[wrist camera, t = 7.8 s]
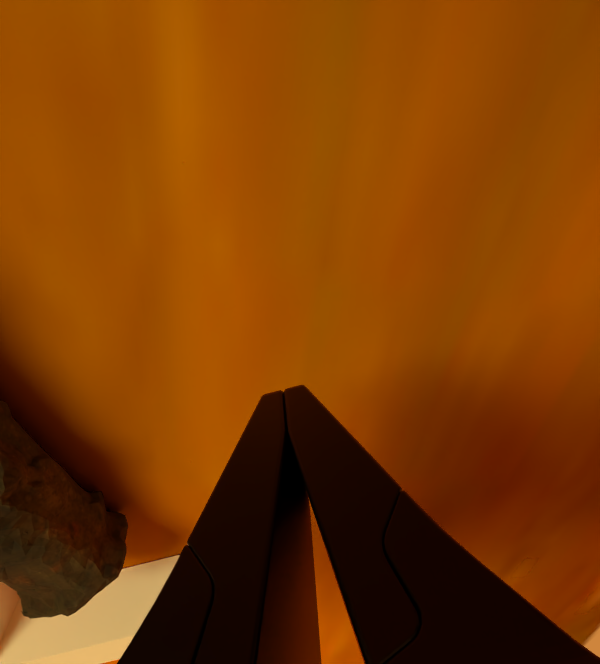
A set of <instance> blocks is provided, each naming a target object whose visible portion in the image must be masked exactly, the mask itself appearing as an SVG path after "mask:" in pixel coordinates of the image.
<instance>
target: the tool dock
mask: <svg viewBox="0 0 600 664" xmlns="http://www.w3.org/2000/svg"><path fill="white" fill-rule="evenodd" d="M179 556H180V555H176V556H172V557H168V558H164V559H160V560H156V561H152V562H148V563H144V564H140V565H136V566H132V567H128V568H125V569H122V570H121V572H120V574H119V577H118V578H117V579H115V580H114V581H113V582H111V583H110V584H109V585H108V586H106V587H105V588H104V589H103V590H102V591H100V592H99V593H97V594H96V595H95V596H94V597H93V598H92V599H91V600H90V601H89V602H88V603H87V604H86V605H85V606H83V607H82V608H81V609H79V610H78V611H77V612H76V613H74V614H72V615H70V616H65V615H62V614H61V615H57V616H54V617H41V618H33V619H30V618H29V617H25V616H23V614H22V612H23V611H22V605H21V599H20V597H19V595H18V594H16V593H17V591H15V590H13V589H12V588H10V587H9V586H7V585H6V584H4V583H3V582H0V664H101V663H105V662H109V661H113V660H117V659H120V658H121V656H122V655H123V653H124V652H125V650H126V649H127V647H128V645H129V644H130V642H131V641H132V639H133V637H134V636H135V634H136V632H137V631H138V629H139V627H140V626H141V624H142V622H143V621H144V619H145V617H146V616H147V614H148V612H149V611H150V609H151V607H152V606H153V604H154V602H155V601H156V599H157V597H158V595H159V593H160V591H161V590H162V588H163V586H164V584H165V582H166V580H167V579H168V577H169V575H170V573H171V571H172V569H173V568H174V566H175V564H176V562H177V560H178V558H179ZM21 611H22V612H21Z"/></svg>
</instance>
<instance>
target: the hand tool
mask: <svg viewBox="0 0 600 664" xmlns="http://www.w3.org/2000/svg"><path fill="white" fill-rule="evenodd" d="M127 529H128V524H127V520H126V517H125V515H124V514H121V513H118V512H107V511H106V509H105V503H104V498H103V495H102V492H100V491H94V492H92V493H90V492H86V491H85V490H83V489H82V488H81V487H80V486H79V485H78V484H77V483H76V482H75V481H74V480H73V479H72V478H71V477H70V476H69V475H68V473H67V472H66V471H65V470H64V469H63V468H62V467H61V466H60V465H59V464H58V463H57V462H56V461H55V460H53V459H52V458H51V457H50V456H49V455H48V454H47V453H46V452H45V451H44V450H43V449H42V448H41V447H40V446H39V445H38V444H37V443H36V442H35V441H34V440H33V439H32V438H31V437H30V436H29V435H28V433H27V432H26V431H25V430H24V429H23V428H22V427H21V426H20V425H19V424H18V423H17V422H16V421H15V420H14V419H13V418H12V417H11V411H10V409H9V407H8V404H7V403H6V402H3V401H1V400H0V582H3V583H4V584H6V585H7V586H9V587H10V588H12V589H13V590H15V591H17V593H16V594H18V595H19V597H20V599H21V605H22V611H23V612H22V611H21V612H22V614H23V616H25V617H29V618H30V619H33V618H41V617H54V616H57V615H61V614H62V615H65V616H70V615H72V614H74V613H76V612H77V611H78V610H79V609H81V608H82V607H83V606H85V605H86V604H87V603H88V602H89V601H90V600H91V599H92V598H93V597H94V596H95V595H96V594H97V593H99V592H100V591H102V590H103V589H104V588H105V587H106V586H108V585H109V584H110V583H111V582H113V581H114V580H115V579H117V578H118V577H119V574H120V572H121V570H122V568H123V564H124V560H125V556H126V544H125V539H126V534H127Z"/></svg>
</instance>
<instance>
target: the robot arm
mask: <svg viewBox="0 0 600 664" xmlns="http://www.w3.org/2000/svg"><path fill="white" fill-rule="evenodd" d="M308 497H309V498H308ZM309 500H310V503H311V506H312V509H313V512H314V515H315V518H316V521H317V524H318V527H319V530H320V533H321V536H322V539H323V542H324V545H325V548H326V551H327V554H328V557H329V560H330V563H331V566H332V569H333V572H334V575H335V578H336V581H337V584H338V587H339V590H340V593H341V596H342V598H343V601H344V604H345V607H346V610H347V613H348V616H349V619H350V622H351V625H352V628H353V631H354V634H355V637H356V640H357V643H358V646H359V649H360V652H361V655H362V658H363V661H364V664H600V658H599V657H598V656H596V655H595V654H593V653H592V652H591V651H589V650H588V649H587V648H585V647H584V646H583V645H581V644H580V643H578V642H577V641H576V640H574V639H573V638H572V637H571V636H569V635H568V634H567V633H566V632H564V631H563V630H562V629H561V628H559V627H558V626H557V625H556V624H555V623H553V622H552V621H551V620H550V619H549V618H547V617H546V616H545V615H544V614H542V613H541V612H540V611H539V610H538V609H536V608H535V607H534V606H533V605H532V604H530V603H529V602H528V601H527V600H526V599H524V598H523V597H522V596H521V595H520V594H518V593H517V592H516V591H515V590H513V589H512V588H511V587H510V586H509V585H507V584H506V583H505V582H504V581H503V580H501V579H500V578H499V577H498V576H497V575H495V574H494V573H493V572H492V571H491V570H489V569H488V568H487V567H486V566H485V565H483V564H482V563H481V562H480V561H478V560H477V559H476V558H475V557H474V556H473V555H471V554H470V553H469V552H468V551H467V550H466V549H465V548H463V547H462V546H461V545H460V544H459V543H458V542H457V541H455V540H454V539H453V538H452V537H451V536H450V535H449V534H447V533H446V532H445V531H444V530H443V529H442V528H441V527H440V526H439V525H438V524H437V523H436V522H435V521H434V520H433V519H432V518H431V517H430V516H429V515H428V514H427V513H426V512H425V511H424V510H423V509H422V508H421V507H420V506H419V505H418V504H417V503H416V502H415V501H414V500H413V499H412V498H411V497H410V496H409V495H408V494H407V493H406V492H405V491H402V488H401V487H400V486H399V485H398V483H397V482H396V481H395V480H394V479H393V478H392V477H391V476H390V475H389V474H388V473H387V472H386V471H385V470H384V469H383V468H382V467H381V466H380V464H379V463H378V462H377V461H376V460H375V459H374V458H373V457H372V456H371V455H370V454H369V453H368V452H367V451H366V450H365V449H364V448H363V447H362V445H361V444H360V443H359V442H358V441H357V440H356V439H355V438H354V437H353V436H352V435H351V434H350V433H349V432H348V431H347V430H346V429H345V428H344V427H343V425H342V424H341V423H340V422H339V421H338V420H337V419H336V418H335V417H334V416H333V415H332V414H331V413H330V412H329V411H328V410H327V409H326V408H325V406H324V405H323V404H322V403H321V402H320V401H319V400H318V399H317V398H316V397H315V396H314V395H313V394H312V393H311V392H310V391H309V390H308V389H307V387H305V386H304V385H299V386H295V387H291V388H287V389H285V391H284V392H283V391H281V390H280V391H275V392H271V393H267V394H264V395H263V396H262V397H261V399H260V401H259V403H258V405H257V407H256V409H255V410H254V412H253V414H252V416H251V418H250V420H249V422H248V424H247V426H246V428H245V430H244V432H243V434H242V436H241V438H240V440H239V442H238V444H237V445H236V447H235V449H234V451H233V453H232V455H231V457H230V459H229V461H228V463H227V465H226V467H225V469H224V471H223V473H222V475H221V477H220V479H219V480H218V482H217V484H216V486H215V488H214V490H213V492H212V494H211V496H210V498H209V500H208V502H207V504H206V506H205V508H204V510H203V512H202V514H201V516H200V517H199V519H198V521H197V523H196V525H195V527H194V529H193V531H192V533H191V535H190V537H189V539H188V541H187V544H188V545H189V546H188V545H186V546H185V547H184V548H183V550H182V552H181V554H180V556H179V558H178V560H177V562H176V564H175V566H174V568H173V569H172V571H171V573H170V575H169V577H168V579H167V580H166V582H165V584H164V586H163V588H162V590H161V591H160V593H159V595H158V597H157V599H156V601H155V602H154V604H153V606H152V607H151V609H150V611H149V612H148V614H147V616H146V617H145V619H144V621H143V622H142V624H141V626H140V627H139V629H138V631H137V632H136V634H135V636H134V637H133V639H132V641H131V642H130V644H129V645H128V647H127V649H126V650H125V652H124V653H123V655H122V656H121V658H120V660H119V661H118V663H117V664H321V652H320V639H319V625H318V612H317V598H316V585H315V571H314V558H313V544H312V531H311V517H310V506H309Z"/></svg>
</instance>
